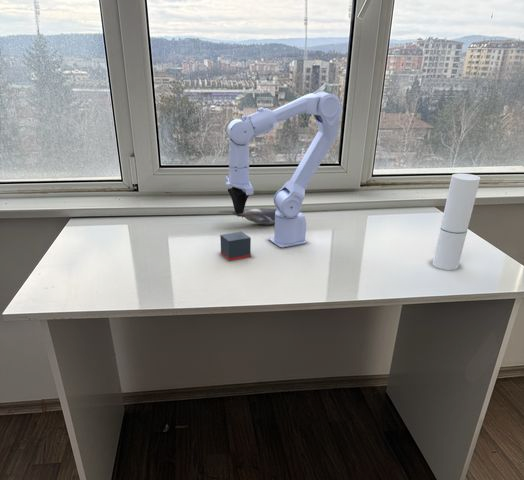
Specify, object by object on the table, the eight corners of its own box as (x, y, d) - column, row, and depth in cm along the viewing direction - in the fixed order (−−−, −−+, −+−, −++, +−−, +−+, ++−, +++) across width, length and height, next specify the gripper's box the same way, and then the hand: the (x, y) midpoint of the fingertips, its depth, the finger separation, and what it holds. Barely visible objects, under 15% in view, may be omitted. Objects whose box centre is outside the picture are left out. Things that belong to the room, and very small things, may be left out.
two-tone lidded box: (250, 237, 143) (250, 257, 146) (241, 231, 148) (241, 250, 151) (228, 241, 140) (229, 261, 144) (220, 234, 145) (220, 254, 148)
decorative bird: (291, 226, 170) (292, 211, 167) (219, 228, 167) (218, 214, 164) (287, 220, 175) (288, 206, 173) (217, 222, 172) (217, 208, 169)
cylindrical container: (458, 262, 146) (480, 175, 132) (458, 271, 140) (480, 181, 127) (433, 258, 148) (452, 172, 134) (431, 267, 142) (451, 178, 128)
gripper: (215, 161, 145) (217, 208, 152) (237, 173, 134) (237, 222, 142) (237, 159, 148) (237, 205, 155) (260, 170, 137) (259, 218, 144)
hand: (239, 213), depth 148 cm, fingers closed
